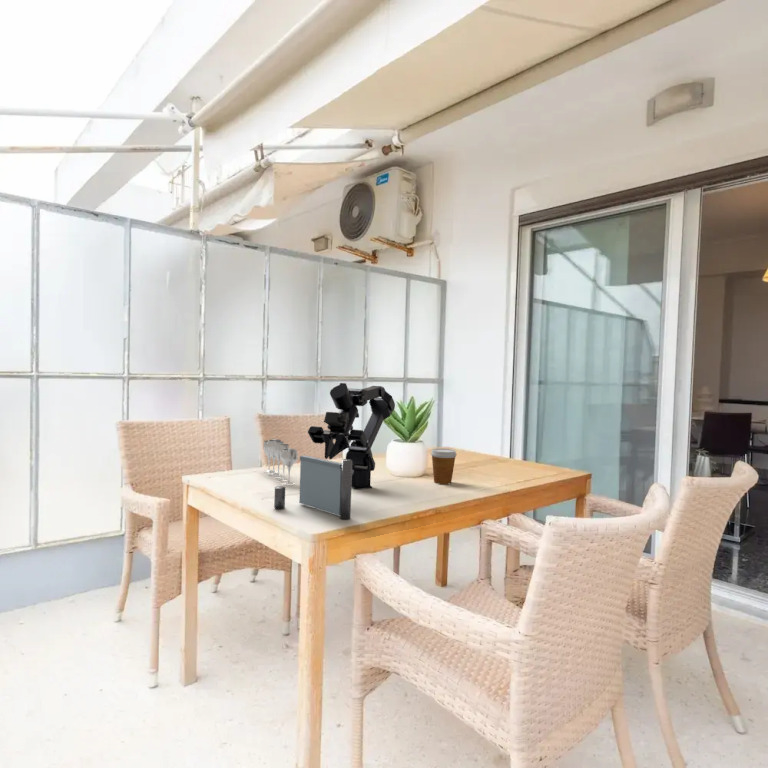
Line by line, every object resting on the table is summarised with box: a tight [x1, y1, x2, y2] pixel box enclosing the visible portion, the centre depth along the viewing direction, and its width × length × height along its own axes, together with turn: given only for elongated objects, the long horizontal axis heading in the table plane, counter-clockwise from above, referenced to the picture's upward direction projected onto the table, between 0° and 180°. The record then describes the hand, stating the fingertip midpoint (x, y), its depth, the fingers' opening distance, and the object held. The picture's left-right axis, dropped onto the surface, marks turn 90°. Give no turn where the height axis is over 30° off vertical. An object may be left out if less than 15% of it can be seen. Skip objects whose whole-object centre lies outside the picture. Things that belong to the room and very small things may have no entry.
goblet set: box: [263, 438, 299, 484], centre depth 192 cm, size 28×6×13 cm, turn 30°
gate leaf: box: [298, 454, 342, 516], centre depth 150 cm, size 18×2×14 cm, turn 48°
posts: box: [273, 458, 352, 521], centre depth 147 cm, size 24×3×16 cm, turn 68°
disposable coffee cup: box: [430, 448, 457, 485], centre depth 192 cm, size 10×10×12 cm
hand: (327, 458), depth 158 cm, fingers closed
